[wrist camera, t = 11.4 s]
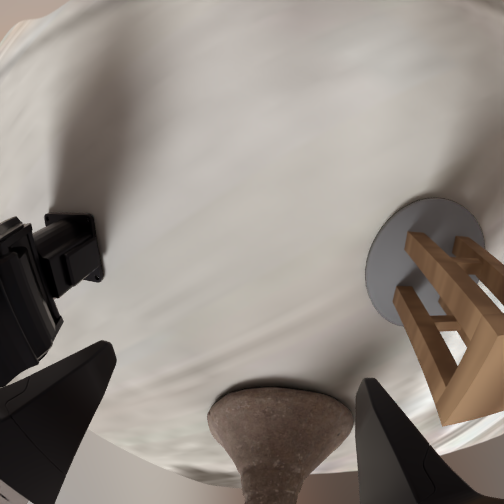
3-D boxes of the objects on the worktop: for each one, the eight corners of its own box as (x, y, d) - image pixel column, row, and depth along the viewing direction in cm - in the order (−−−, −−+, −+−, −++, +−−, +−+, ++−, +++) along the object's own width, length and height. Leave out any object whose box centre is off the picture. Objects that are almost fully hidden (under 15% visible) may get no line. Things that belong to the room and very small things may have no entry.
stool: (392, 301, 21) (442, 426, 10) (407, 231, 18) (497, 335, 8) (450, 301, 20) (515, 406, 9) (468, 237, 18) (564, 324, 7)
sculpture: (194, 377, 28) (125, 547, 10) (360, 377, 25) (377, 574, 7) (223, 451, 34) (191, 568, 16) (343, 453, 31) (341, 578, 13)
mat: (352, 321, 23) (353, 325, 22) (378, 187, 18) (380, 189, 18) (457, 323, 21) (460, 327, 21) (493, 209, 17) (497, 211, 16)
